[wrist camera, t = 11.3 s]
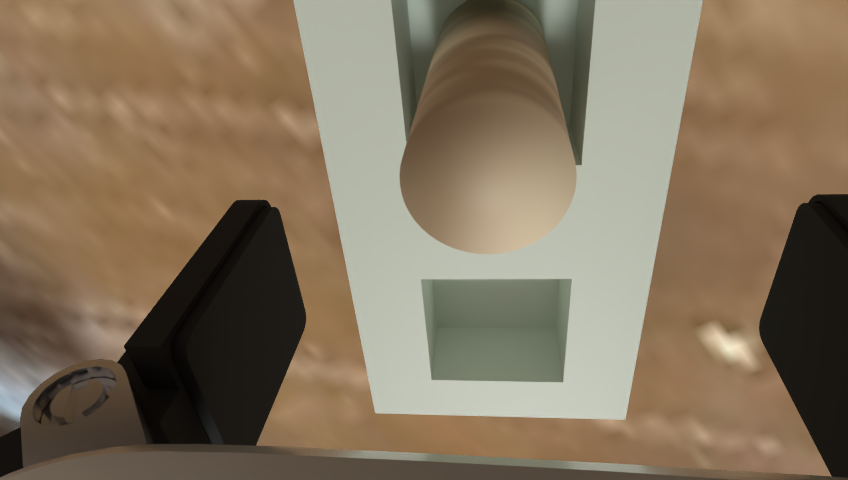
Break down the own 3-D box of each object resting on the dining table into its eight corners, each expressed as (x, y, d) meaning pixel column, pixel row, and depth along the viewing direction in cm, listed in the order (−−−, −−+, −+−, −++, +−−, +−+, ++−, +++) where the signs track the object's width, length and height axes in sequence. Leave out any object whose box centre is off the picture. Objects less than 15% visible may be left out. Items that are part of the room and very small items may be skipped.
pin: (548, -9, 20) (584, 95, 12) (543, 102, 22) (569, 253, 14) (433, -3, 20) (390, 102, 12) (439, 105, 23) (407, 254, 14)
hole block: (680, -143, 18) (728, -139, 14) (608, 350, 31) (625, 419, 27) (314, -110, 20) (273, -98, 16) (388, 347, 32) (375, 413, 28)
